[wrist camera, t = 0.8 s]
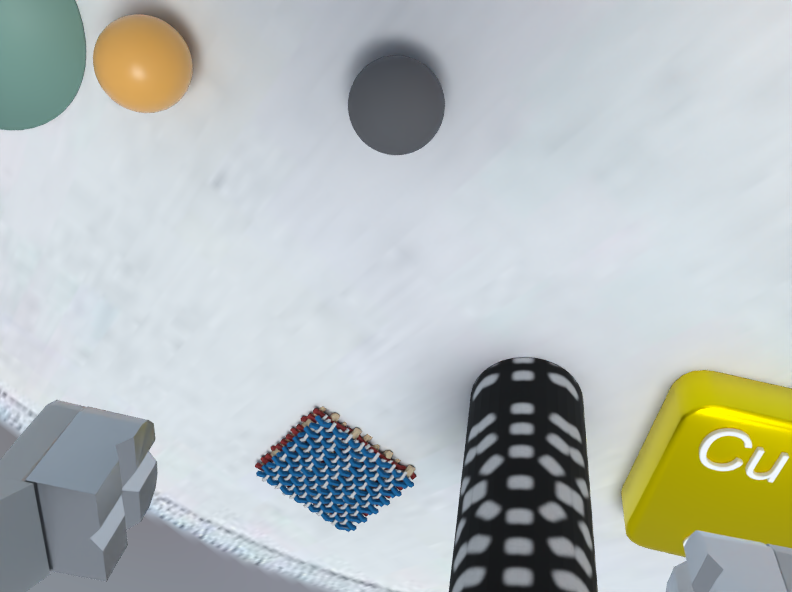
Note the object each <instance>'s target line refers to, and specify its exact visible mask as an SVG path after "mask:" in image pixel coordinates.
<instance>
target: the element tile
mask: <svg viewBox="0 0 792 592" xmlns="http://www.w3.org/2000/svg"><path fill="white" fill-rule="evenodd" d="M621 496H622V504H623V512H624V521H625V529H626V535H627V536H628V538H629V539H630V540H631V541H632V542H634V543H635V544H637V545H639V546H642V547H645V548H648V549H653V550H657V551H661V552H666V553H670V554H674V555H678V556H683V557H686V555H685V550H684V546H685V544H686V542H687V540H688V538H689V536H690V535H691V534H692V533H693V532H695V531H696V530H699V531H704V532H709V533H714V534H719V535H725V536H730V537H735V538H740V539H746V540H751V541H756V542H761V543H764V544H772V545H777V546H782V547H788V548H792V389H791V388H786V387H782V386H778V385H773V384H769V383H764V382H760V381H755V380H751V379H746V378H742V377H737V376H733V375H728V374H724V373H720V372H715V371H707V370H701V371H692V372H689V373H687V374H684V375H682V376H681V377H680V378H679V379H678V380H676V381H675V382H674V384H673V385H672V386H671V388H670V390H669V392H668V394H667V396H666V398H665V401H664V403H663V405H662V407H661V409H660V411H659V413H658V415H657V417H656V419H655V421H654V423H653V425H652V427H651V429H650V431H649V433H648V435H647V438H646V440H645V442H644V444H643V446H642V448H641V450H640V452H639V454H638V456H637V458H636V460H635V462H634V464H633V466H632V468H631V470H630V472H629V475H628V477H627V479H626V481H625V483H624V485H623V487H622V491H621Z"/></svg>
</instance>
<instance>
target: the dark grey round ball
mask: <svg viewBox="0 0 792 592" xmlns="http://www.w3.org/2000/svg"><path fill="white" fill-rule="evenodd" d="M444 109H445V100H444V94H443V91H442V88H441V85H440V83H439V81H438V79H437V78H436V76H435V75H434V73H433V72H432V71H431V70H430V69H429V68H428V67H427V66H426V65H424V64H423V63H421V62H419V61H418V60H416V59H413V58H410V57H406V56H399V55H395V56H387V57H383V58H380V59H377V60H375V61H373V62H372V63H370V64H369V65H367V66H366V67H365V68H364V69H363V70H362V71H361V72H360V73H359V74H358V76H357V77H356V79H355V80H354V83H353V85H352V87H351V90H350V93H349V99H348V111H349V117H350V121H351V123H352V126H353V128H354V130H355V132H356V133H357V135H358V136H359V137H360V139H361V140H362V141H363V142H364V143H366V144H367V145H368V146H369V147H371V148H372V149H374V150H376V151H379V152H381V153H385V154H389V155H403V154H408V153H411V152H414V151H416V150H419V149H420V148H422V147H423V146H425V145H426V144H427V143H428V142H429V141H430V140H431V139H432V138H433V137H434V136H435V134H436V133H437V131H438V129H439V128H440V126H441V123H442V120H443V116H444Z"/></svg>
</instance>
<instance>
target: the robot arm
mask: <svg viewBox="0 0 792 592" xmlns="http://www.w3.org/2000/svg"><path fill="white" fill-rule="evenodd" d="M154 441H155V432H154V423H152V422H150V421H149V420H145V419H141V418H136V417H132V416H128V415H123V414H119V413H114V412H110V411H106V410H101V409H97V408H93V407H85V406H81V405H76V404H72V403H68V402H63V401H59V400H56V401H54V402H52V403H50V404H48V405H46V406H45V408H44V409H43V410H42V411H41V412H40V413H39V414H38V416H37V417H36V418H35V419H34V420H33V421H32V423H31V424H30V425H29V426H28V427H27V428H26V430H25V431H24V432H23V433H22V434H21V435H20V437H19V438H18V439H17V440H16V441H15V443H14V444H13V445H12V446H11V447H10V448H9V450H8V451H7V452H6V453H5V454H4V455H3V456H2V458H1V459H0V592H26V591H27V590H29V589H30V588H32V587H33V586H35V585H36V584H37V583H39V582H40V581H42V580H43V579H45V578H46V577H47V576H49V575H50V571H53V572H59V573H64V574H69V575H74V576H79V577H86V578H90V579H96V580H101V581H107V580H108V578H109V576H110V575H111V573H112V571H113V570H114V568H115V566H116V564H117V563H118V561H119V559H120V558H121V556H122V554H123V552H124V551H125V549H126V547H127V545H128V544H127V532H126V530H127V529H129V528H131V527H132V526H134V525H136V524H138V523H139V522H141V521H142V519H143V517H144V515H145V513H146V512H147V510H148V508H149V506H150V503H151V500H152V497H153V494H154V491H155V488H156V480H157V461H156V460H155V458H154V457H153V456H152V455H151V453H150V452H149V449H150V448H151V446H152V444H153V443H154ZM684 550H685V555H686V560H687V561H685V562H683V563H681V564H679V565H677V566H675V567H674V568H673V571H672V573H671V575H670V578H669V580H668V582H667V588H666V592H792V548H788V547H782V546H777V545H772V544H764V543H761V542H756V541H751V540H746V539H740V538H735V537H730V536H725V535H719V534H714V533H709V532H704V531H699V530H696V531H695V532H693V533H692V534H691V535H690V536H689V538H688V540H687V542H686V544H685V546H684Z"/></svg>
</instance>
